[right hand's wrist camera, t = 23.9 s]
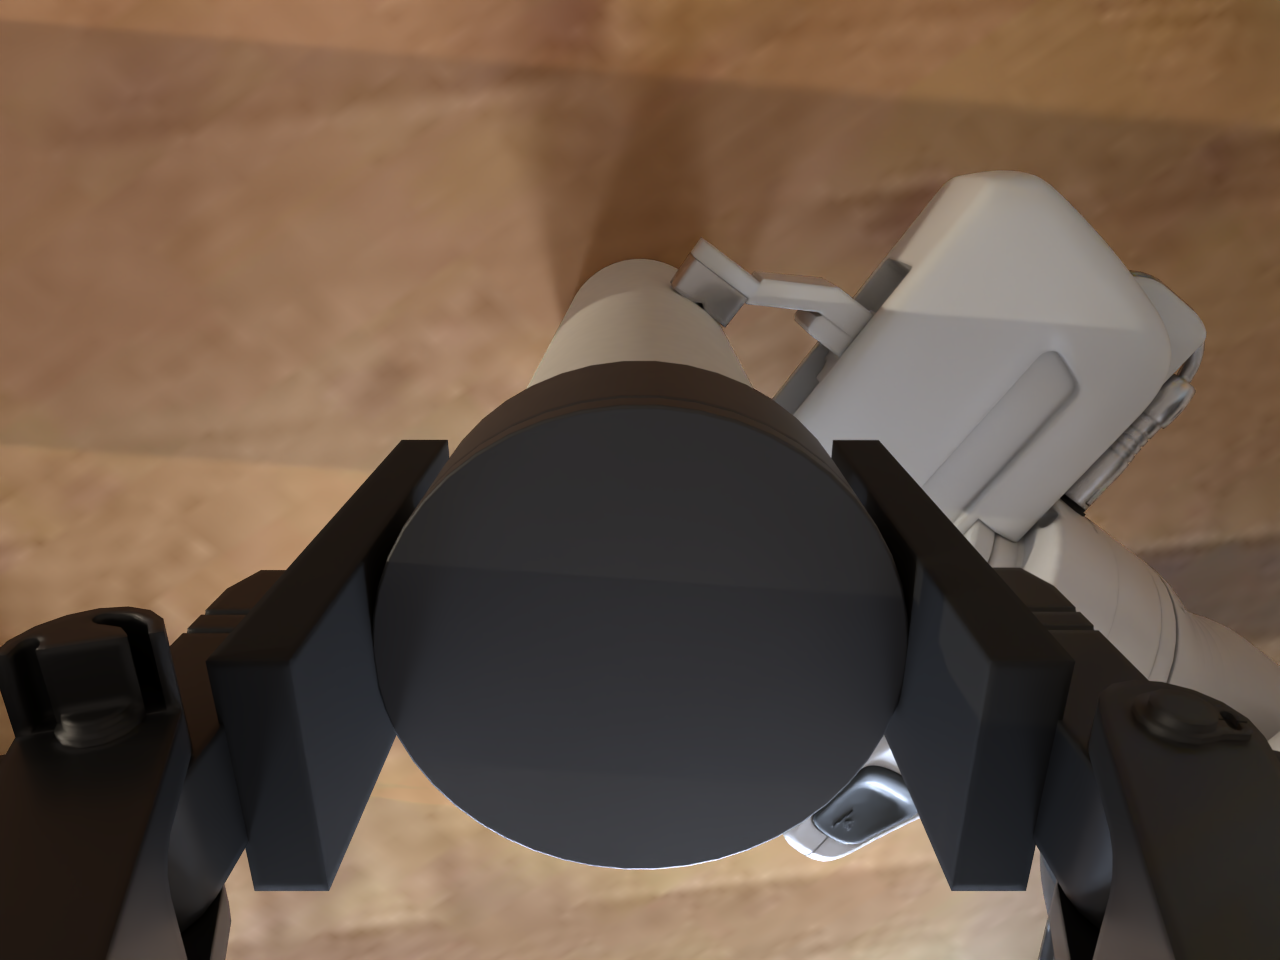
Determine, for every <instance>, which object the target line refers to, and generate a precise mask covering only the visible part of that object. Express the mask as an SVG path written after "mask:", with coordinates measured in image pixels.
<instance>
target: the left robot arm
mask: <svg viewBox="0 0 1280 960" xmlns="http://www.w3.org/2000/svg"><path fill="white" fill-rule="evenodd" d="M670 283H671V286H672V287H673V288H674V289H675V290H676V291H677V292H678V293H680V294H681V295H682V296H683V297H685V298H687V299H688V300H690V301H692V302H694V303H701V304H702V306H703V308H704V310H705V311H706V312H707V313H708V314H709V315H710V316H711V317H712V318H713V319H714V320H716V321H717V322H719V323H720V324H721V325H723V326H724V327H726V326H727V324H728V323H729V322H730V321H731V319H732V318H733V317H734V315H735V314H736V313H737V312H738V310H739V309H740V308H741V307H742V305H743V304H744V303H746V304H751V305H760V306H769V307H778V308H787V309H795V310H798V311H797V312H796V313H795V315H794V316H795V321H796V322H797V323H798V324H799V325H800V326H801V327H802V328H803V329H804V330H806V331H807V332H808V333H809V334H810V335H811V336H812V337H814V338H815V339H816V340H818V342H817V343H816V345H815V346H814V347H813V348H812V350H811V351H810V352H809V353H808V355H807V356H806V357H805V358H804V360H803V361H802V362H801V363H800V365H799V366H798V367H797V368H796V370H795V371H794V372H793V373H792V375H791V376H790V377H789V378H788V380H787V381H786V382H785V383H784V385H783V386H782V387H781V388H780V390H779V391H778V392H777V394H776V395H775V396H774V397H773V399H772V400H774V401H775V402H776V403H778V404H779V405H780V406H782V407H783V408H784V409H786V410H787V411H788V412H789V413H791V414H792V415H793V416H795V417H796V418H797V419H798V420H799V421H800V422H801V423H802V424H803V425H804V426H805V427H806V428H807V429H808V430H809V431H810V432H811V433H812V434H813V435H814V436H815V437H816V438H817V439H818V441H819V442H820V443H821V445H822V446H823V448H824V449H825V450H826V452H827V453H828V454H829V456H830V457H831V455H832V444H833V440H879V441H880V442H881V443H882V444H883V445H884V446H885V448H886V449H887V450H888V451H889V452H890V453H891V454H892V455H893V457H894V458H895V459H896V460H897V461H898V462H899V463H900V464H901V466H902V467H903V468H904V469H905V470H906V471H907V472H908V473H909V475H910V476H911V477H912V478H913V479H914V480H915V481H916V482H917V484H918V485H919V486H920V487H921V488H922V489H923V490H924V491H925V493H926V494H927V495H928V496H929V497H930V498H931V499H932V500H933V502H934V503H935V504H936V505H937V506H938V507H939V508H940V509H941V511H942V512H943V513H944V514H945V515H946V516H947V517H948V518H949V520H950V521H951V522H952V523H953V524H954V525H955V526H956V527H957V529H958V530H959V531H960V532H961V533H962V534H963V535H964V536H965V538H966V539H967V540H968V541H969V542H970V543H971V544H972V545H973V547H974V548H975V549H976V550H977V551H978V552H979V553H980V554H981V556H982V557H983V558H984V559H985V560H986V561H987V562H988V563H989V565H990V566H991V567H1020V568H1022V569H1024V570H1026V571H1028V572H1029V573H1031V574H1033V575H1035V576H1037V577H1039V578H1041V579H1042V580H1044V581H1046V582H1048V583H1050V584H1052V585H1054V586H1055V587H1056V588H1057V589H1058V590H1059V591H1060V592H1061V593H1062V594H1063V595H1064V596H1065V597H1066V598H1067V599H1068V600H1069V601H1070V602H1071V603H1072V604H1073V605H1074V606H1075V607H1076V612H1081V613H1082V614H1083V615H1084V616H1085V617H1086V618H1087V619H1088V620H1089V621H1090V622H1091V623H1092V624H1093V625H1094V630H1099V631H1100V632H1101V633H1102V634H1103V635H1104V636H1105V637H1106V638H1107V639H1108V640H1109V641H1110V642H1111V643H1112V644H1113V645H1114V646H1115V647H1116V648H1117V649H1118V650H1119V651H1120V652H1121V653H1122V654H1123V655H1124V656H1125V657H1126V658H1127V659H1128V660H1129V661H1130V662H1131V663H1132V664H1133V665H1134V666H1135V667H1136V668H1137V669H1138V670H1139V671H1140V672H1141V673H1142V674H1143V675H1144V676H1145V677H1146V678H1147V679H1148V680H1149V681H1159V682H1165V683H1169V684H1173V685H1177V686H1181V687H1185V688H1189V689H1193V690H1195V691H1198V692H1200V693H1202V694H1205V695H1207V696H1210V697H1212V698H1214V699H1217V700H1219V701H1222V702H1224V703H1225V704H1227V705H1228V706H1230V707H1231V708H1233V709H1234V710H1236V711H1238V712H1239V713H1241V714H1242V715H1244V716H1245V717H1247V718H1248V719H1249V720H1250V721H1251V722H1252V723H1253V724H1254V725H1255V726H1256V727H1257V728H1258V730H1259V731H1260V732H1261V733H1262V734H1263V735H1264V736H1265V738H1266V739H1267V741H1268V743H1269V745H1270V746H1271V748H1272V750H1275V751H1279V752H1280V666H1279V665H1278V664H1276V663H1275V662H1274V661H1273V660H1271V659H1270V658H1269V657H1268V656H1266V655H1265V654H1264V653H1263V652H1261V651H1260V650H1259V649H1257V648H1256V647H1255V646H1254V645H1252V644H1251V643H1250V642H1248V641H1247V640H1246V639H1245V638H1243V637H1242V636H1240V635H1239V634H1237V633H1236V632H1234V631H1233V630H1231V629H1229V628H1227V627H1226V626H1224V625H1222V624H1220V623H1217V622H1215V621H1213V620H1211V619H1208V618H1206V617H1203V616H1199V615H1196V614H1193V613H1190V612H1188V611H1186V609H1185V607H1184V606H1183V604H1182V602H1181V601H1180V599H1179V598H1178V596H1177V595H1176V593H1175V592H1174V590H1173V589H1172V588H1171V586H1170V585H1169V584H1168V583H1167V582H1166V581H1165V580H1164V579H1163V578H1162V577H1161V576H1160V575H1159V574H1158V573H1157V572H1156V571H1155V570H1154V569H1153V568H1152V567H1150V566H1149V565H1148V564H1147V563H1145V562H1144V561H1143V560H1141V559H1140V558H1139V557H1138V556H1136V555H1135V554H1134V553H1132V552H1131V551H1130V550H1128V549H1127V548H1126V547H1125V546H1123V545H1122V544H1121V543H1119V542H1118V541H1117V540H1115V539H1114V538H1113V537H1111V536H1110V535H1109V534H1108V533H1106V532H1105V531H1104V530H1102V529H1101V528H1100V527H1098V526H1097V525H1096V524H1094V523H1093V522H1092V521H1090V520H1089V519H1087V518H1086V517H1085V515H1086V514H1084V513H1083V512H1084V511H1085V510H1086V509H1087V508H1088V507H1089V506H1090V505H1091V504H1092V503H1093V502H1094V501H1095V500H1096V499H1097V498H1098V497H1099V496H1100V495H1101V494H1102V493H1103V492H1104V491H1105V490H1106V489H1107V488H1108V487H1109V486H1110V485H1111V484H1112V483H1113V482H1114V481H1115V480H1116V479H1117V478H1118V477H1119V476H1120V475H1121V473H1122V472H1123V471H1124V470H1125V469H1126V468H1127V467H1128V465H1129V464H1128V463H1129V462H1131V461H1132V460H1133V459H1134V457H1135V456H1134V455H1135V454H1137V453H1138V452H1139V451H1140V450H1141V447H1143V446H1144V445H1145V444H1146V443H1147V442H1148V439H1151V438H1152V437H1153V436H1154V435H1155V434H1156V433H1157V432H1158V431H1159V430H1160V429H1161V428H1162V429H1164V428H1166V427H1167V426H1168V425H1169V424H1171V423H1172V422H1173V421H1174V420H1175V419H1176V418H1177V417H1178V416H1179V415H1180V414H1181V413H1182V411H1183V410H1184V409H1185V408H1186V406H1187V405H1188V404H1189V402H1190V401H1191V399H1192V398H1193V396H1194V394H1195V393H1196V390H1195V388H1194V387H1193V386H1192V385H1191V384H1190V382H1191V381H1192V379H1193V377H1194V376H1195V374H1196V372H1197V371H1198V369H1199V366H1200V364H1201V361H1202V357H1203V353H1204V346H1205V338H1206V333H1207V332H1206V329H1205V326H1204V324H1203V322H1202V320H1201V319H1200V317H1199V316H1198V315H1197V314H1196V313H1195V311H1194V310H1193V309H1192V308H1191V307H1190V306H1189V305H1188V304H1187V303H1185V302H1184V301H1183V300H1182V299H1181V298H1180V297H1179V296H1177V295H1176V294H1175V293H1174V292H1173V291H1172V290H1171V289H1169V288H1168V287H1167V286H1166V285H1165V284H1164V283H1163V282H1161V281H1160V280H1159V279H1157V278H1155V277H1154V276H1152V275H1149V274H1147V273H1143V272H1139V271H1132V270H1128V269H1127V267H1126V266H1125V265H1124V263H1123V262H1122V261H1121V260H1120V259H1119V257H1118V256H1117V255H1116V254H1115V252H1114V251H1113V250H1112V249H1111V248H1110V246H1109V245H1108V244H1107V243H1106V242H1105V241H1104V239H1103V238H1102V237H1101V236H1100V235H1099V234H1098V233H1097V232H1096V230H1095V229H1094V228H1093V227H1092V226H1091V225H1090V224H1089V223H1088V222H1087V221H1086V219H1085V218H1084V217H1083V216H1082V215H1081V214H1080V213H1079V212H1078V211H1077V210H1076V209H1075V208H1074V207H1073V206H1072V205H1071V204H1070V203H1069V202H1068V201H1067V200H1066V199H1065V198H1064V197H1063V196H1062V195H1061V194H1060V193H1059V192H1058V191H1057V190H1056V189H1054V188H1053V187H1052V186H1051V185H1050V184H1048V183H1047V182H1046V181H1045V180H1043V179H1041V178H1040V177H1038V176H1035V175H1032V174H1029V173H1026V172H1021V171H1013V170H994V171H984V172H978V173H972V174H966V175H960V176H956V177H954V178H951V179H950V180H948V181H947V182H946V183H945V184H944V185H943V186H942V187H941V188H940V189H939V190H938V192H937V193H936V194H935V195H934V197H933V198H932V199H931V200H930V202H929V203H928V204H927V205H926V207H925V208H924V209H923V210H922V212H921V213H920V214H919V216H918V217H917V218H916V219H915V221H914V222H913V223H912V224H911V226H910V227H909V228H908V229H907V231H906V232H905V233H904V234H903V236H902V237H901V238H900V239H899V241H898V242H897V243H896V244H895V246H894V247H893V248H892V249H891V251H890V252H889V253H888V254H887V256H886V257H885V258H884V259H883V261H882V262H881V263H880V264H879V266H878V267H877V268H876V269H875V271H874V272H873V273H872V274H871V276H870V277H869V278H868V279H867V281H866V282H865V283H864V284H863V286H862V287H861V288H860V289H859V291H858V292H857V293H856V294H855V296H854V297H853V298H852V297H850V296H849V295H848V294H847V293H845V292H844V291H843V290H841V289H840V288H839V287H837V286H835V285H834V284H832V283H830V282H828V281H827V280H825V279H823V278H820V277H810V276H800V275H790V274H780V273H770V272H759V271H754V272H753V273H752V275H751V274H750V273H749V272H747V271H746V270H745V269H744V268H742V267H741V266H740V265H738V264H737V263H736V262H734V261H733V260H732V259H730V258H729V257H728V256H726V255H725V254H724V253H723V252H721V251H720V250H719V249H717V248H716V247H715V246H713V245H712V244H711V243H709V242H708V241H706V240H705V239H703V238H702V237H701V238H700V239H699V241H698V242H697V244H696V245H695V246H694V248H693V249H692V251H691V253H689V255H688V256H687V258H686V259H685V260H684V262H683V263H682V265H681V266H680V268H679V269H678V271H677V272H676V274H675V275H674V276H673V278H672V279H671V281H670ZM1181 365H1182V366H1181ZM1180 366H1181V368H1180V370H1179V371H1178V373H1177V375H1176V374H1174V373H1175V372H1176V371H1177V369H1178V368H1179V367H1180ZM919 818H920V817H919V814H918V812H917V810H916V807H915V805H914V803H913V800H912V798H911V796H910V794H909V791H908V789H907V787H906V784H905V782H904V780H903V777H902V775H901V773H900V770H899V768H898V766H897V764H896V761H895V759H894V757H893V754H892V752H891V750H890V747H889V745H888V743H887V740H886V738H885V736H883V737H882V739H881V740H880V742H879V744H878V745H877V747H876V748H875V750H874V752H873V753H872V755H871V757H870V758H869V760H868V761H867V762H866V763H865V765H864V766H863V767H862V768H861V769H860V771H859V772H858V773H857V774H856V776H855V777H854V778H853V779H852V780H851V782H850V783H849V784H848V785H847V786H846V787H845V788H844V789H843V790H842V791H840V792H839V793H838V794H837V795H836V796H835V797H834V798H833V799H832V800H831V801H830V802H829V803H828V804H827V805H825V806H824V807H823V808H821V809H820V810H819V811H817V812H816V813H815V814H813V815H812V816H811V817H809V818H808V819H806V820H805V821H804V822H802V823H801V824H799V825H797V826H795V827H794V828H792V829H790V830H789V831H787V832H785V833H783V835H784V837H785V839H786V841H787V842H788V843H789V844H790V845H791V846H792V847H793V848H795V849H796V850H797V851H799V852H801V853H802V854H804V855H806V856H808V857H810V858H812V859H815V860H818V861H831V860H835V859H838V858H841V857H844V856H846V855H848V854H850V853H852V852H854V851H856V850H858V849H859V848H861V847H863V846H865V845H867V844H869V843H871V842H872V841H874V840H876V839H878V838H880V837H882V836H884V835H886V834H888V833H890V832H892V831H894V830H896V829H898V828H900V827H902V826H904V825H906V824H908V823H910V822H912V821H914V820H917V819H919ZM1040 871H1041V881H1042V887H1043V894H1044V899H1045V904H1046V908H1047V913H1048V914H1049V910H1050V906H1051V901H1052V897H1053V893H1054V888H1055V884H1056V880H1057V879H1056V878H1055V876H1054V874H1053V873H1052V871H1051V869H1050V867H1049V866H1048V864H1047V862H1046V861H1045V859H1044V857H1043V856H1042V854H1041V852H1040Z"/></svg>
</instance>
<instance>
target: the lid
mask: <svg viewBox="0 0 1280 960" xmlns="http://www.w3.org/2000/svg"><path fill="white" fill-rule="evenodd" d="M372 641H373V650H374V658H375V666H376V673H377V681H378V687H379V690H380V694H381V697H382V701H383V704H384V708H385V710H386V712H387V715H388V717H389V719H390V721H391V723H392V726H393V728H394V730H395V732H396V734H397V736H398V738H399V740H400V741H401V743H402V744H403V746H404V747H405V749H406V751H407V752H408V754H409V755H410V757H411V759H412V760H413V762H414V763H415V764H416V765H417V766H418V768H419V769H420V770H421V771H422V772H423V774H424V775H425V776H426V777H427V778H428V780H429V781H430V782H431V783H432V784H433V785H434V786H435V787H436V788H437V789H438V790H439V791H440V792H441V793H442V794H443V795H444V796H445V797H446V798H448V799H449V800H450V801H451V802H452V803H453V804H454V805H455V806H457V807H458V808H459V809H461V810H462V811H463V812H465V813H466V814H467V815H469V816H470V817H471V818H473V819H474V820H476V821H477V822H478V823H480V824H482V825H483V826H485V827H487V828H489V829H490V830H492V831H494V832H496V833H497V834H499V835H501V836H503V837H504V838H506V839H508V840H511V841H513V842H515V843H518V844H520V845H522V846H525V847H527V848H529V849H531V850H534V851H537V852H540V853H543V854H546V855H550V856H553V857H556V858H559V859H562V860H566V861H571V862H576V863H581V864H586V865H591V866H598V867H608V868H618V869H663V868H673V867H682V866H690V865H695V864H699V863H704V862H709V861H714V860H719V859H722V858H725V857H728V856H731V855H734V854H737V853H740V852H744V851H747V850H749V849H752V848H754V847H756V846H758V845H761V844H763V843H765V842H767V841H770V840H772V839H774V838H776V837H778V836H780V835H782V834H783V833H785V832H787V831H789V830H790V829H792V828H794V827H795V826H797V825H799V824H801V823H802V822H804V821H805V820H806V819H808V818H809V817H811V816H812V815H813V814H815V813H816V812H817V811H819V810H820V809H821V808H823V807H824V806H825V805H827V804H828V803H829V802H830V801H831V800H832V799H833V798H834V797H835V796H836V795H837V794H838V793H839V792H840V791H842V790H843V789H844V788H845V787H846V786H847V785H848V784H849V783H850V782H851V780H852V779H853V778H854V777H855V776H856V774H857V773H858V772H859V771H860V769H861V768H862V767H863V766H864V765H865V763H866V762H867V761H868V760H869V758H870V757H871V755H872V753H873V752H874V750H875V748H876V747H877V745H878V744H879V742H880V740H881V739H882V737H883V736H884V734H885V732H886V729H887V727H888V725H889V723H890V720H891V718H892V716H893V714H894V711H895V709H896V707H897V703H898V700H899V696H900V693H901V689H902V684H903V678H904V670H905V662H906V655H907V647H908V613H907V608H906V602H905V597H904V591H903V585H902V582H901V579H900V577H899V574H898V571H897V568H896V565H895V562H894V559H893V556H892V554H891V552H890V550H889V548H888V546H887V544H886V542H885V541H884V539H883V537H882V535H881V533H880V531H879V529H878V527H877V525H876V524H875V522H874V521H873V519H872V518H871V516H870V515H869V514H868V512H867V510H866V509H865V507H864V506H863V504H862V503H861V501H860V500H859V498H858V497H857V496H856V494H855V493H854V491H853V490H852V488H851V487H850V485H849V484H848V482H847V481H846V479H845V478H844V476H843V475H842V473H841V472H840V470H839V469H838V467H837V466H836V464H835V463H834V461H833V460H832V459H831V457H830V456H829V454H828V453H827V452H826V450H825V449H824V448H823V446H822V445H821V443H820V442H819V441H818V439H817V438H816V437H815V436H814V435H813V434H812V433H811V432H810V431H809V430H808V429H807V428H806V427H805V426H804V425H803V424H802V423H801V422H800V421H799V420H798V419H797V418H796V417H795V416H793V415H792V414H791V413H789V412H788V411H787V410H786V409H784V408H783V407H782V406H780V405H779V404H778V403H776V402H775V401H774V400H772V399H771V398H769V397H767V396H765V395H764V394H762V393H760V392H758V391H757V390H755V389H753V388H751V387H750V386H748V385H746V384H744V383H741V382H739V381H736V380H734V379H731V378H729V377H727V376H724V375H722V374H719V373H716V372H712V371H709V370H705V369H701V368H697V367H693V366H689V365H684V364H676V363H668V362H660V361H619V362H612V363H604V364H597V365H591V366H587V367H583V368H580V369H576V370H572V371H568V372H565V373H561V374H559V375H556V376H554V377H551V378H549V379H547V380H544V381H542V382H539V383H537V384H535V385H532V386H531V387H529V388H527V389H525V390H524V391H522V392H520V393H519V394H517V395H515V396H514V397H512V398H510V399H508V400H507V401H505V402H504V403H503V404H501V405H500V406H499V407H498V408H496V409H495V410H494V411H492V412H491V413H490V414H489V415H487V416H486V417H485V418H484V419H482V420H481V421H480V422H479V423H478V425H477V426H476V427H475V428H474V429H473V430H472V431H471V432H470V433H469V434H468V435H467V436H466V437H465V438H464V439H463V440H462V441H461V443H460V444H459V446H458V447H457V448H456V450H455V451H454V452H453V454H452V455H451V457H450V458H449V459H448V461H447V462H446V464H445V465H444V467H443V468H442V470H441V471H440V473H439V474H438V476H437V477H436V479H435V480H434V482H433V483H432V485H431V486H430V488H429V489H428V491H427V492H426V493H425V495H424V496H423V498H422V499H421V501H420V502H419V504H418V505H417V507H416V508H415V510H414V511H413V513H412V515H411V516H410V517H409V519H408V520H407V522H406V523H405V525H404V526H403V528H402V530H401V532H400V534H399V536H398V538H397V540H396V542H395V544H394V546H393V548H392V549H391V551H390V553H389V555H388V558H387V561H386V564H385V567H384V570H383V573H382V576H381V579H380V582H379V585H378V588H377V594H376V600H375V606H374V612H373V617H372Z"/></svg>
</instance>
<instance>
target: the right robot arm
mask: <svg viewBox="0 0 1280 960" xmlns="http://www.w3.org/2000/svg"><path fill="white" fill-rule="evenodd" d="M448 459H449V449H448V440H401V441H400V443H399V444H398V445H397V446H396V447H395V448H394V449H393V450H392V452H391V453H390V454H389V455H388V456H387V457H386V458H385V459H384V461H383V462H382V463H381V464H380V465H379V466H378V467H377V468H376V470H375V471H374V472H373V473H372V474H371V475H370V476H369V477H368V479H367V480H366V481H365V482H364V483H363V484H362V485H361V486H360V488H359V489H358V490H357V491H356V492H355V493H354V494H353V495H352V497H351V498H350V499H349V500H348V501H347V502H346V503H345V504H344V506H343V507H342V508H341V509H340V510H339V511H338V512H337V513H336V515H335V516H334V517H333V518H332V519H331V520H330V521H329V522H328V524H327V525H326V526H325V527H324V528H323V529H322V530H321V531H320V533H319V534H318V535H317V536H316V537H315V538H314V539H313V540H312V542H311V543H310V544H309V545H308V546H307V547H306V548H305V549H304V551H303V552H302V553H301V554H300V555H299V556H298V557H297V558H296V560H295V561H294V562H293V563H292V564H291V565H290V566H289V567H288V569H287V570H260V571H259V572H257V573H255V574H253V575H251V576H249V577H248V578H246V579H244V580H242V581H240V582H238V583H237V584H235V585H233V586H231V587H229V588H227V589H226V590H225V591H224V592H223V593H222V594H221V595H220V596H219V597H218V598H217V599H216V600H215V601H214V602H213V603H212V604H211V605H210V606H209V607H208V608H207V609H206V610H205V611H206V613H205V615H200V616H199V617H198V618H197V619H196V620H195V622H194V623H193V624H192V625H191V626H190V627H189V628H188V631H187V633H183V634H182V635H181V636H180V637H179V638H178V639H177V640H176V641H175V642H174V643H173V644H172V645H171V646H169V642H168V637H167V633H166V629H165V624H164V620H163V618H161V617H160V616H159V615H157V614H156V613H154V612H153V611H151V610H146V609H140V608H134V607H113V608H98V609H94V610H89V611H84V612H79V613H75V614H70V615H66V616H63V617H60V618H57V619H54V620H52V621H49V622H46V623H43V624H40V625H37V626H35V627H33V628H31V629H29V630H27V631H25V632H24V633H22V634H20V635H18V636H16V637H14V638H12V639H10V640H9V641H7V642H6V643H5V644H4V645H3V646H2V647H0V691H1V694H2V697H3V700H4V703H5V706H6V709H7V713H8V716H9V719H10V722H11V725H12V728H13V731H14V734H15V737H16V738H15V739H14V741H13V743H12V744H11V746H10V748H9V750H8V751H7V753H6V754H5V755H1V756H0V960H225V958H226V951H227V945H228V938H229V932H230V925H231V916H230V908H229V901H228V897H227V893H226V888H225V884H224V883H225V882H226V880H227V878H228V876H229V875H230V873H231V871H232V870H233V868H234V866H235V864H236V863H237V861H238V859H239V858H240V856H241V854H242V852H243V851H244V849H245V848H246V853H247V857H248V862H249V867H250V871H251V876H252V881H253V885H254V890H255V891H329V890H330V887H331V885H332V883H333V880H334V878H335V876H336V873H337V871H338V869H339V866H340V864H341V862H342V859H343V857H344V855H345V853H346V850H347V848H348V846H349V843H350V841H351V839H352V836H353V834H354V832H355V829H356V827H357V825H358V823H359V820H360V818H361V816H362V813H363V811H364V809H365V806H366V804H367V802H368V799H369V797H370V795H371V792H372V790H373V788H374V786H375V783H376V781H377V779H378V776H379V774H380V772H381V769H382V767H383V765H384V762H385V760H386V758H387V755H388V753H389V751H390V749H391V746H392V744H393V742H394V739H395V737H396V735H397V734H396V732H395V730H394V728H393V726H392V723H391V721H390V719H389V717H388V715H387V712H386V710H385V708H384V704H383V701H382V697H381V694H380V690H379V687H378V681H377V673H376V666H375V658H374V650H373V641H372V617H373V612H374V606H375V600H376V594H377V588H378V585H379V582H380V579H381V576H382V573H383V570H384V567H385V564H386V561H387V558H388V555H389V553H390V551H391V549H392V548H393V546H394V544H395V542H396V540H397V538H398V536H399V534H400V532H401V530H402V528H403V526H404V525H405V523H406V522H407V520H408V519H409V517H410V516H411V515H412V513H413V511H414V510H415V508H416V507H417V505H418V504H419V502H420V501H421V499H422V498H423V496H424V495H425V493H426V492H427V491H428V489H429V488H430V486H431V485H432V483H433V482H434V480H435V479H436V477H437V476H438V474H439V473H440V471H441V470H442V468H443V467H444V465H445V464H446V462H447V461H448ZM831 459H832V460H833V461H834V463H835V464H836V466H837V467H838V469H839V470H840V472H841V473H842V475H843V476H844V478H845V479H846V481H847V482H848V484H849V485H850V487H851V488H852V490H853V491H854V493H855V494H856V496H857V497H858V498H859V500H860V501H861V503H862V504H863V506H864V507H865V509H866V510H867V512H868V514H869V515H870V516H871V518H872V519H873V521H874V522H875V524H876V525H877V527H878V529H879V531H880V533H881V535H882V537H883V539H884V541H885V542H886V544H887V546H888V548H889V550H890V552H891V554H892V556H893V559H894V562H895V565H896V568H897V571H898V574H899V577H900V579H901V582H902V585H903V591H904V597H905V602H906V608H907V613H908V647H907V655H906V662H905V670H904V678H903V684H902V689H901V693H900V696H899V700H898V703H897V707H896V709H895V711H894V714H893V716H892V718H891V720H890V723H889V725H888V727H887V729H886V732H885V734H884V736H885V738H886V740H887V743H888V745H889V747H890V750H891V752H892V754H893V757H894V759H895V761H896V764H897V766H898V768H899V770H900V773H901V775H902V777H903V780H904V782H905V784H906V787H907V789H908V791H909V794H910V796H911V798H912V800H913V803H914V805H915V807H916V810H917V812H918V814H919V817H920V819H921V821H922V824H923V826H924V828H925V831H926V833H927V835H928V837H929V840H930V842H931V844H932V847H933V849H934V851H935V854H936V856H937V858H938V861H939V863H940V865H941V867H942V870H943V872H944V874H945V877H946V879H947V881H948V884H949V886H950V888H951V891H1026V888H1027V883H1028V879H1029V874H1030V869H1031V865H1032V860H1033V855H1034V851H1035V846H1036V845H1037V847H1038V849H1039V850H1040V852H1041V854H1042V856H1043V857H1044V859H1045V861H1046V862H1047V864H1048V866H1049V867H1050V869H1051V871H1052V873H1053V874H1054V876H1055V878H1056V879H1057V880H1056V884H1055V888H1054V893H1053V897H1052V901H1051V906H1050V910H1049V914H1048V919H1047V923H1046V927H1045V932H1044V936H1043V940H1042V945H1041V949H1040V953H1039V958H1038V960H1280V752H1279V751H1275V750H1272V748H1271V746H1270V745H1269V743H1268V741H1267V739H1266V738H1265V736H1264V735H1263V734H1262V733H1261V732H1260V731H1259V730H1258V728H1257V727H1256V726H1255V725H1254V724H1253V723H1252V722H1251V721H1250V720H1249V719H1248V718H1247V717H1245V716H1244V715H1242V714H1241V713H1239V712H1238V711H1236V710H1234V709H1233V708H1231V707H1230V706H1228V705H1227V704H1225V703H1224V702H1222V701H1219V700H1217V699H1214V698H1212V697H1210V696H1207V695H1205V694H1202V693H1200V692H1198V691H1195V690H1193V689H1189V688H1185V687H1181V686H1177V685H1173V684H1169V683H1165V682H1159V681H1149V680H1148V679H1147V678H1146V677H1145V676H1144V675H1143V674H1142V673H1141V672H1140V671H1139V670H1138V669H1137V668H1136V667H1135V666H1134V665H1133V664H1132V663H1131V662H1130V661H1129V660H1128V659H1127V658H1126V657H1125V656H1124V655H1123V654H1122V653H1121V652H1120V651H1119V650H1118V649H1117V648H1116V647H1115V646H1114V645H1113V644H1112V643H1111V642H1110V641H1109V640H1108V639H1107V638H1106V637H1105V636H1104V635H1103V634H1102V633H1101V632H1100V631H1099V630H1094V625H1093V624H1092V623H1091V622H1090V621H1089V620H1088V619H1087V618H1086V617H1085V616H1084V615H1083V614H1082V613H1081V612H1076V607H1075V606H1074V605H1073V604H1072V603H1071V602H1070V601H1069V600H1068V599H1067V598H1066V597H1065V596H1064V595H1063V594H1062V593H1061V592H1060V591H1059V590H1058V589H1057V588H1056V587H1055V586H1054V585H1052V584H1050V583H1048V582H1046V581H1044V580H1042V579H1041V578H1039V577H1037V576H1035V575H1033V574H1031V573H1029V572H1028V571H1026V570H1024V569H1022V568H1020V567H991V566H990V565H989V563H988V562H987V561H986V560H985V559H984V558H983V557H982V556H981V554H980V553H979V552H978V551H977V550H976V549H975V548H974V547H973V545H972V544H971V543H970V542H969V541H968V540H967V539H966V538H965V536H964V535H963V534H962V533H961V532H960V531H959V530H958V529H957V527H956V526H955V525H954V524H953V523H952V522H951V521H950V520H949V518H948V517H947V516H946V515H945V514H944V513H943V512H942V511H941V509H940V508H939V507H938V506H937V505H936V504H935V503H934V502H933V500H932V499H931V498H930V497H929V496H928V495H927V494H926V493H925V491H924V490H923V489H922V488H921V487H920V486H919V485H918V484H917V482H916V481H915V480H914V479H913V478H912V477H911V476H910V475H909V473H908V472H907V471H906V470H905V469H904V468H903V467H902V466H901V464H900V463H899V462H898V461H897V460H896V459H895V458H894V457H893V455H892V454H891V453H890V452H889V451H888V450H887V449H886V448H885V446H884V445H883V444H882V443H881V442H880V441H879V440H833V444H832V455H831Z"/></svg>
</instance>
